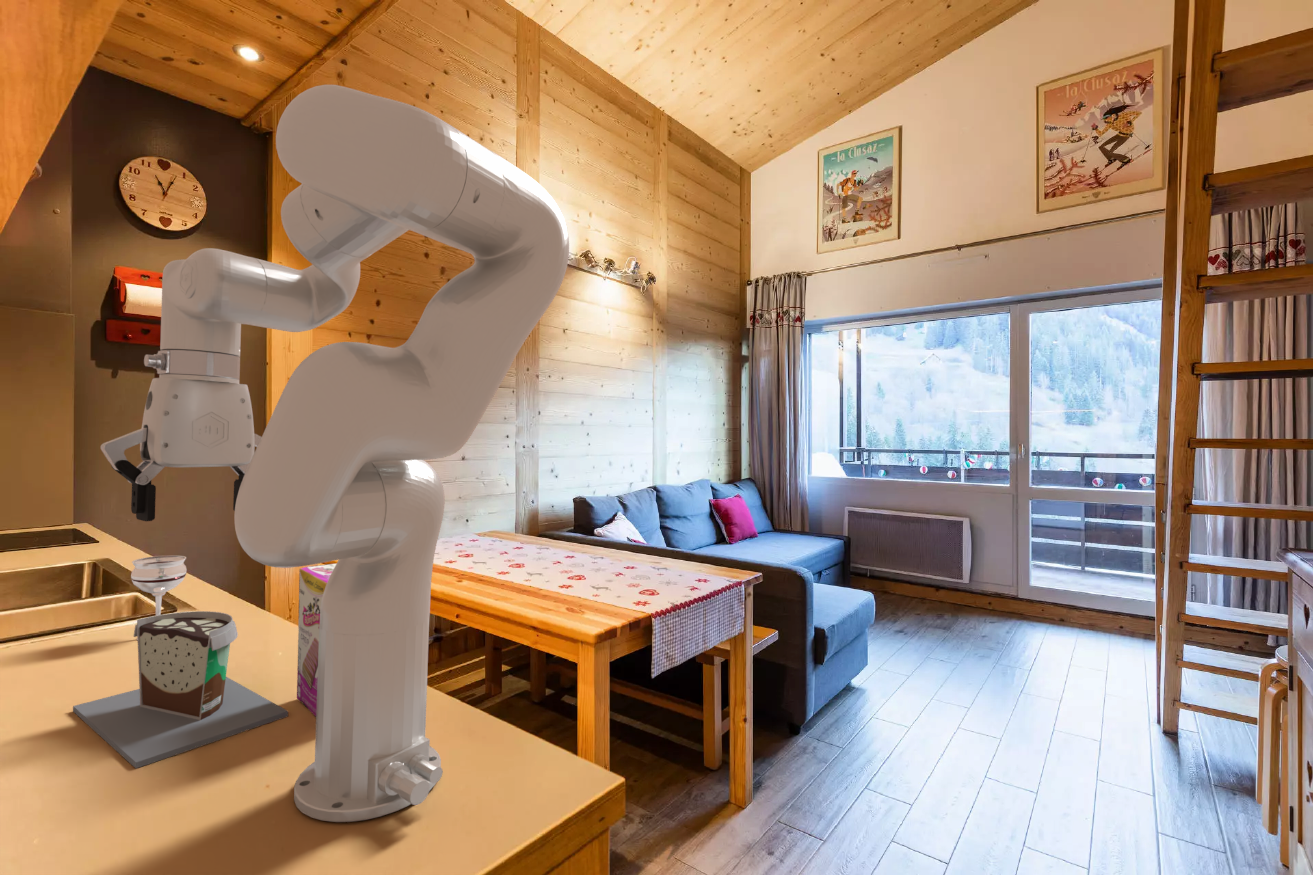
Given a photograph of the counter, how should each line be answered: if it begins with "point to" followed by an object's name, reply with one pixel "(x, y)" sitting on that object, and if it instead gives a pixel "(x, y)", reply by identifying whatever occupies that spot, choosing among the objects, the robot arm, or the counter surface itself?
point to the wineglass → (158, 575)
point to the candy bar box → (310, 631)
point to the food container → (184, 661)
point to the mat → (173, 723)
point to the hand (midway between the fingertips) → (196, 515)
